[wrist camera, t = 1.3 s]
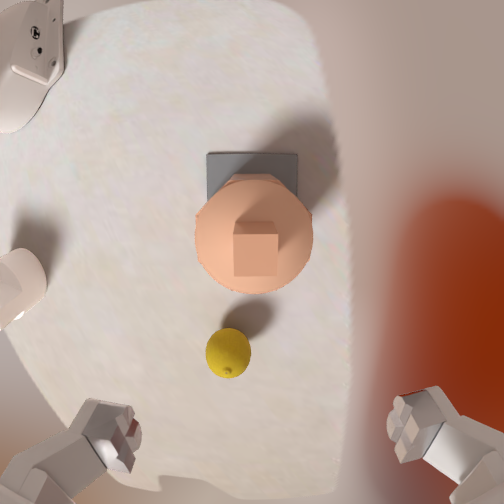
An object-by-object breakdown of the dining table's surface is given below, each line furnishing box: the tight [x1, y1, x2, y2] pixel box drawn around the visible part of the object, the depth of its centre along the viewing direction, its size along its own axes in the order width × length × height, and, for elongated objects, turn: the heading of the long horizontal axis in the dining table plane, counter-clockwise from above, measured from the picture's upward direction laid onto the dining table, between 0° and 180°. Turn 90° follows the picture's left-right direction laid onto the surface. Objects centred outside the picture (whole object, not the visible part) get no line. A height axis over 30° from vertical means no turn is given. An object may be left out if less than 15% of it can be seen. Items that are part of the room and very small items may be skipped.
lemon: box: [206, 328, 251, 378], centre depth 35 cm, size 6×6×8 cm
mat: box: [206, 154, 297, 202], centre depth 34 cm, size 14×10×1 cm
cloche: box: [195, 174, 313, 294], centre depth 27 cm, size 10×10×14 cm
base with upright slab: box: [0, 248, 47, 331], centre depth 30 cm, size 9×9×12 cm
